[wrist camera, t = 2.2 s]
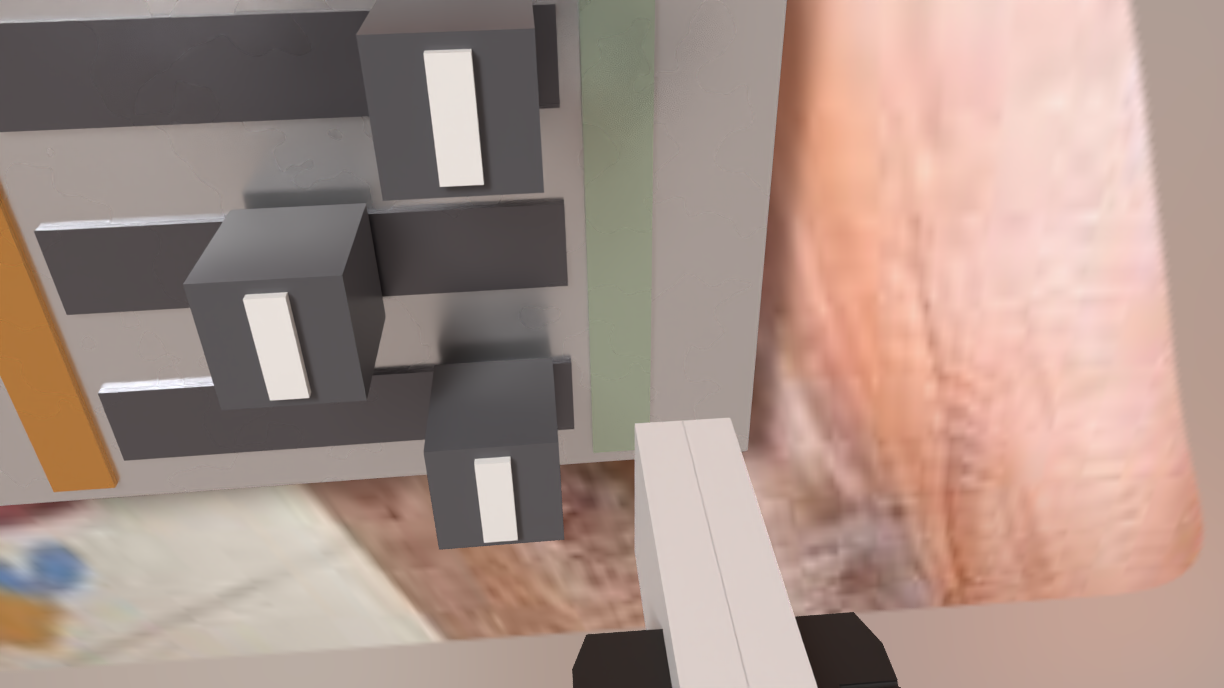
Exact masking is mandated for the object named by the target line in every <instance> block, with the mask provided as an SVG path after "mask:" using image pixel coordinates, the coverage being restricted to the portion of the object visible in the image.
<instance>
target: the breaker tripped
mask: <svg viewBox="0 0 1224 688" xmlns="http://www.w3.org/2000/svg"><path fill="white" fill-rule="evenodd" d="M183 286H184V290H185V293H186V296H187V299H188V303H189V306H190V309H191V312H192V316H193V319H194V322H195V325H196V329H197V332H198V335H199V338H200V342H201V345H202V348H203V351H204V355H205V358H206V361H207V364H208V368H209V371H210V374H211V378H212V381H213V384H214V387H215V391H216V394H217V397H218V400H219V404H220V407H221V410H231V409H246V408H261V407H276V406H291V405H306V404H321V403H336V402H351V401H366V400H367V398H368V393H369V389H370V384H371V380H372V376H373V371H374V367H375V362H376V358H377V354H378V349H379V345H380V340H381V336H382V332H383V327H384V323H385V318H386V315H385V309H384V303H383V297H382V291H381V286H380V280H379V274H378V268H377V263H376V257H375V251H374V245H373V239H372V234H371V228H370V222H369V216H368V210H367V205H366V203H358V204H339V205H319V206H299V207H279V208H259V209H240V210H230V212H229V213H228V215H227V216H226V218H225V219H224V221H223V222H222V224H221V226H220V227H219V229H218V230H217V232H216V233H215V235H214V237H213V238H212V240H211V241H210V243H209V244H208V246H207V247H206V249H205V251H204V252H203V254H202V255H201V257H200V258H199V260H198V261H197V263H196V265H195V266H194V268H193V269H192V271H191V272H190V274H189V276H188V277H187V279H186V280H185V282H184V283H183Z"/></svg>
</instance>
